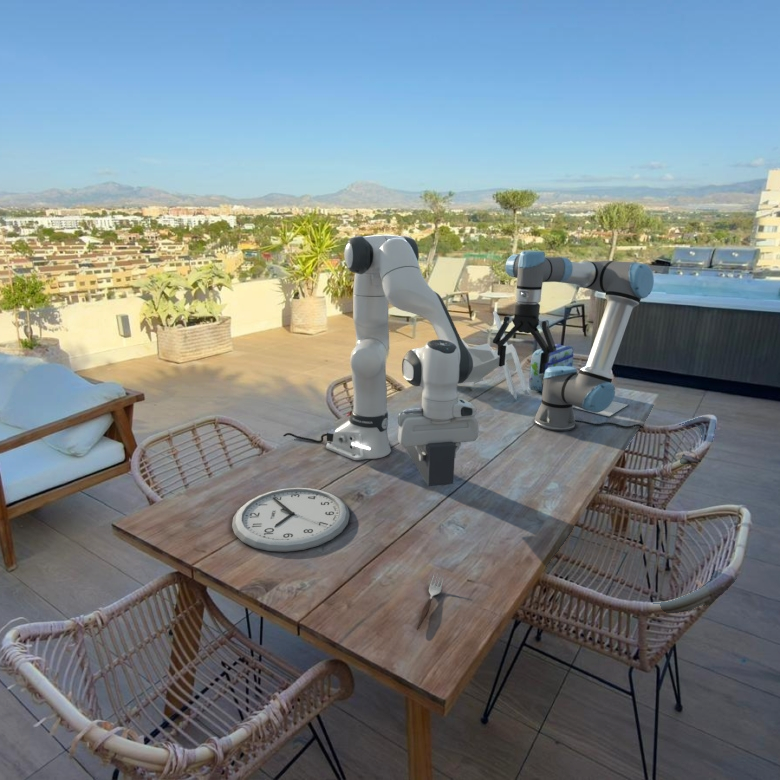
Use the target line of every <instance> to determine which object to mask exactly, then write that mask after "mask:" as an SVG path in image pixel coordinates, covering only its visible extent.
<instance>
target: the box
mask: <svg viewBox="0 0 780 780" xmlns="http://www.w3.org/2000/svg"><path fill="white" fill-rule="evenodd" d="M403 448H404V449H405V451H406V452H407V454H408V456H409V458H410V459H411V461H412V462H413V464H414V465H415V467H416V469H417V471H418V472H419V474H420V475H421V477H422V478H423V480H424V482H425V484H426V485H427V486H428V487H437V486H449V485H454V476H455V474H454V473H455V460H456V458H455V444H454V443H453V442H442V443H429V444H428V445H422V449H420V450H421V452H424V453H425V454H426V461H420V460H419V453H418V451H417V449H416V448H415V446H409V447H403Z"/></svg>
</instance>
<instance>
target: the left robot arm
mask: <svg viewBox="0 0 780 780" xmlns="http://www.w3.org/2000/svg"><path fill="white" fill-rule="evenodd" d="M347 240H348V241H347V242H346V243H345V246H344V251H343V253H344V254H343V256H344V262H345V266H346V268H347V269H348V271H350V272H351V273H354V279H353V287H352V289H353V291H352V292H353V293H352V294H353V295H352V302H353V303H352V305H353V308H352V310H353V311H352V319H353V320H352V321H353V325H354V332H355V347H353V349H352V350H351V353H350V356H349V357H350V359H349V361H350V373H351V382H352V388H353V389H352V390H353V393H352V394H353V409H351V410H350V411H348V412H347V413H346V417H349V418H348V420H346V421H345V422H343V423H342V424H341V425H339V426H338V427H336V428H331V429H330V430H329V431H327V432H326V433H323V434H321V436H320V440H317V439H313V438H309V437H304V436H299V435H296V434H294V433H291V432H286V433H284V434H283V435H282V437H287V436H291V437H293V438H296V439H299V440H303V441H310V442H313V443H318V444H319V443H322V442H324V437H326V441H327V443H326V446H325V449H327V450H328V451H331V452H333V453H335V454H338V455H341V456H343V457H345V458H348V459H350V460H353V461H362V460H376V459H381V458H384V457H386V456H388V455H390V454H391V452H392V448H391V445H390V440H389V433H388V425H389V411H388V387H387V368H386V367H387V361H388V359H389V356H390V326H389V306H390V305H392V306H393V307H394V308H396V309H397V310H400V311H402V312H406V313H411V314H413V315H414V314H415V315H416V316H419V317H421V318H424V319H425V320H427V321H428V322H429V323H430V324H431V325H432V327H433V330H434V332H435V334H436V336H437V338H438V339H431V340H429V341H428V342H426V344H425V345H424V346H422V347H418V348H412V349H409V350H408V351H407V352H406V354H405V355H404V356H403V358H402V363H401V373H402V377H403V379H405V381H406V382H408V383H409V384H410V385H412V386H414V387H421V388H422V393H421V407H420V408H418V407H417V408H406V409H404V410H403V411H401V412H400V413H399V414H398V417H397V424H398V430H397V441H398V443H399V444H400V445H401V446H402V447H403V448H404V447H409V446H415V448H416V449H417V451H418V453H419V460H420V461H426V454H425V453H424V452H421V450H420V449H422V445H428V444H429V443H442V442H453V443H454V444H455V459H456V455H457V452H458V451H459V449H460V448H461V446H462V445H461V443H470V442H476V441H477V439H478V438H479V429H480V428H479V420H478V418H477V416H476V415H477V410H478V409H477V408H476V407H475V406H474V404H472V403H471V402H470V401H469V400H467V399H464V398H460V397H459V392H458V383H459V384H464V383H463V382H464V381H465V380H466V379H467V378H468V377H469V375H470V373H471V371H472V369H473V360H472V357H471V355H470V353H469V351H468V349H467V348H466V347H465V345H464V344H463V342H462V340H461V339H462V338H461V336H460V333H459V332H458V330H457V328H456V325H455V323H454V320H453V319H452V317H451V315H450V312H449V310H448V308H447V306H446V304H445V301H444V299H443V298H442V297H441V295H440V294H439V293H438V292H436V291H435V290H433V289H432V287H431V286H429V284H428V282H427V281H426V279H425V277H424V276H423V273H422V270H421V267H420V264H419V259H420V258H419V257H420V251H419V246H418V244H417V242H416V240H415V239H414V238H412V237H410V236H407V235H406V236H405V235H393V234H379V235H378V234H375V235H366V236H363V235H357V236H353V237H350V238H349V239H347ZM389 304H390V305H389Z"/></svg>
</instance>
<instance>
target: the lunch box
mask: <svg viewBox="0 0 780 780" xmlns="http://www.w3.org/2000/svg"><path fill="white" fill-rule="evenodd" d="M555 346H556V351H554V352H550V354H549V362H548V363H546V364H545V370H546V369H547V368H549V367H555V366H570V367H573V363H574V347H572V346H568V345H562V344H555ZM541 353H543V350H542V349H541V348H539V349H536V350H534V352H533V353H532V355H531V358H530V359H531V360H530V366H529V377H528V379H529V380H528V387H529V390H531V391H536V392H541V393H542V391H543V380H544V379H543V378H544V375H545V372H544V373H542V374H539V369H540V360H541Z"/></svg>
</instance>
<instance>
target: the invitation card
mask: <svg viewBox="0 0 780 780" xmlns="http://www.w3.org/2000/svg"><path fill="white" fill-rule="evenodd" d="M628 406H629V404H627V403H623V402H618V401H614V400H613V401H612V402H611V404H610V405H609V406H608V407H607V408H606V409H604V410H603V411H601V412H592V411H587V410H584V409H582V408H579V407H577V406H574V407H573V409H575V410H581V411H584V412H587V413H593V414H596V415H600V416H604V417H608V418H609V417H611V416H613V415H614V414H616V413H617V412H619V411H621V410H623V409H624V408H626V407H628Z"/></svg>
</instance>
